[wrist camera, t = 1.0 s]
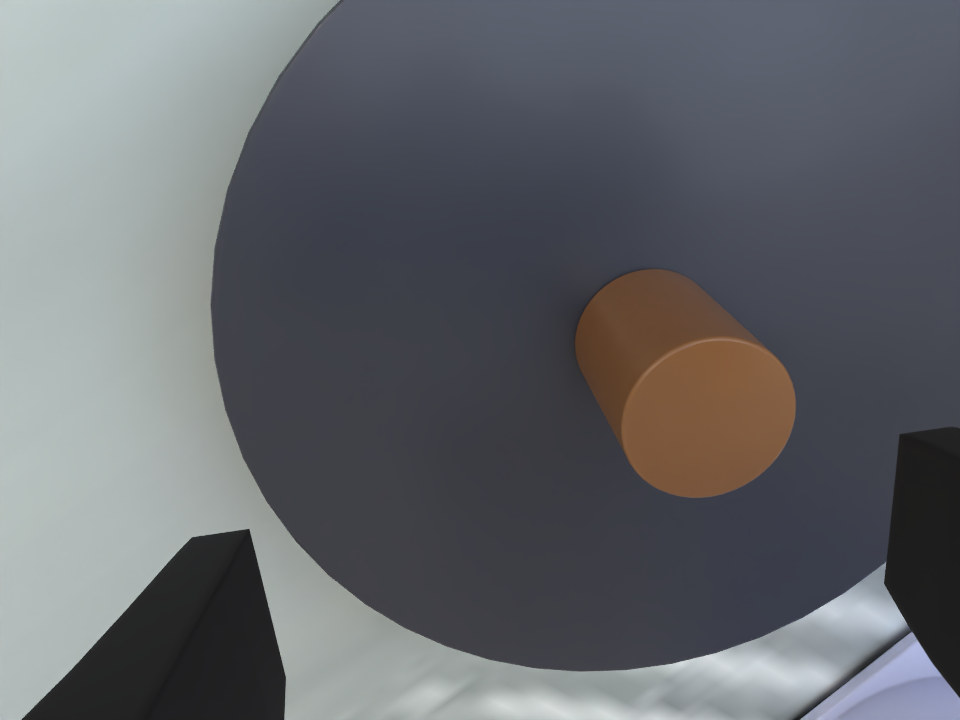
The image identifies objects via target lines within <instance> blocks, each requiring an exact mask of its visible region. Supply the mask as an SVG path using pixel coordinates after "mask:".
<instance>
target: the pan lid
mask: <svg viewBox="0 0 960 720" xmlns="http://www.w3.org/2000/svg"><path fill="white" fill-rule="evenodd" d="M211 317H212V331H213V346H214V359H215V364H216V368H217V373H218V378H219V382H220V387H221V392H222V396H223V401H224V405H225V410H226V413H227V416H228V418H229V421H230V424H231V426H232V429H233V432H234V435H235V437H236V440H237V443H238V445H239V448H240V451H241V453H242V456H243V459H244V460H245V462H246V464H247V466H248V468H249V470H250V472H251V473H252V475H253V477H254V479H255V481H256V483H257V484H258V486H259V488H260V490H261V492H262V494H263V496H264V497H265V499H266V501H267V503H268V504H269V505H270V507H271V508H272V509H273V511H274V512H275V514H276V515H277V516H278V518H279V519H280V520H281V522H282V523H283V524H284V526H285V527H286V529H287V530H288V531H289V533H290V534H291V535H292V537H293V538H294V539H295V541H296V542H297V543H298V544H299V545H300V546H301V547H302V548H303V549H304V550H305V551H306V552H307V553H308V554H309V555H310V556H311V557H312V558H313V559H314V561H315V562H316V563H317V564H318V565H319V566H320V567H321V568H322V569H323V570H324V571H325V572H326V573H327V574H328V575H329V576H330V577H332V578H333V579H334V580H335V581H337V582H338V583H339V584H340V585H342V586H343V587H344V588H346V589H347V590H348V591H349V592H351V593H352V594H353V595H354V596H356V597H357V598H358V599H359V600H361V601H362V602H363V603H364V604H366V605H368V606H369V607H371V608H373V609H374V610H376V611H378V612H379V613H381V614H383V615H384V616H386V617H388V618H389V619H391V620H393V621H394V622H396V623H398V624H399V625H401V626H402V627H404V628H406V629H409V630H411V631H413V632H415V633H418V634H420V635H422V636H424V637H426V638H429V639H431V640H433V641H435V642H438V643H440V644H442V645H444V646H447V647H450V648H453V649H457V650H460V651H463V652H466V653H470V654H473V655H476V656H479V657H483V658H486V659H489V660H494V661H499V662H505V663H510V664H515V665H521V666H526V667H531V668H540V669H553V670H566V671H611V670H629V669H637V668H644V667H651V666H658V665H666V664H672V663H676V662H680V661H685V660H689V659H693V658H697V657H701V656H705V655H709V654H713V653H717V652H720V651H723V650H726V649H728V648H731V647H734V646H737V645H740V644H743V643H745V642H748V641H751V640H754V639H757V638H760V637H762V636H764V635H766V634H768V633H771V632H773V631H775V630H777V629H779V628H781V627H783V626H786V625H788V624H790V623H792V622H794V621H796V620H798V619H800V618H803V617H804V616H806V615H808V614H809V613H811V612H813V611H814V610H816V609H818V608H820V607H821V606H823V605H825V604H826V603H828V602H830V601H831V600H833V599H835V598H836V597H838V596H840V595H841V594H843V593H845V592H846V591H847V590H849V589H850V588H851V587H853V586H854V585H856V584H857V583H858V582H860V581H861V580H862V579H864V578H865V577H866V576H868V575H869V574H870V573H872V572H873V571H875V570H876V569H877V568H879V567H880V566H881V565H883V564H884V563H885V562H886V561H887V551H888V542H889V532H890V522H891V513H892V503H893V493H894V483H895V474H896V464H897V454H898V445H899V435H900V434H904V433H910V432H917V431H924V430H931V429H938V428H945V427H952V426H953V427H957V428H960V0H340V1H339V2H338V3H337V4H336V5H335V6H334V7H333V8H332V9H331V10H330V11H329V12H328V13H327V14H326V15H325V16H324V17H323V18H322V19H321V20H320V21H319V22H318V23H317V25H316V26H315V28H314V29H313V30H312V32H311V33H310V34H309V36H308V37H307V38H306V40H305V41H304V43H303V44H302V45H301V47H300V48H299V49H298V51H297V52H296V53H295V55H294V56H293V58H292V59H291V60H290V62H289V63H288V64H287V66H286V67H285V68H284V70H283V71H282V72H281V74H280V75H279V77H278V79H277V80H276V82H275V84H274V86H273V88H272V90H271V92H270V93H269V95H268V97H267V99H266V101H265V103H264V105H263V106H262V108H261V110H260V112H259V114H258V116H257V117H256V119H255V121H254V123H253V125H252V127H251V129H250V130H249V132H248V135H247V138H246V141H245V143H244V146H243V149H242V151H241V154H240V157H239V159H238V162H237V165H236V168H235V170H234V173H233V176H232V178H231V181H230V184H229V186H228V189H227V193H226V198H225V203H224V207H223V212H222V216H221V221H220V226H219V230H218V235H217V239H216V244H215V251H214V264H213V278H212V292H211Z"/></svg>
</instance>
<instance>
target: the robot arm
mask: <svg viewBox="0 0 960 720" xmlns="http://www.w3.org/2000/svg"><path fill="white" fill-rule="evenodd" d="M884 584H885V586H886V588H887V590H888V591H889V593H890V595H891V596H892V598H893V600H894V602H895V603H896V605H897V607H898V609H899V610H900V612H901V614H902V615H903V617H904V619H905V621H906V622H907V624H908V626H909V627H910V629H911V631H912V632H911V633H909V634H908V635H907V636H905V637H904V638H903V639H902V640H900V641H899V642H898V643H897V644H895V645H894V646H893V647H892V648H890V649H889V650H888V651H886V652H885V653H884V654H883V655H881V656H880V657H879V658H878V659H876V660H875V661H874V662H872V663H871V664H870V665H869V666H867V667H866V668H865V669H864V670H862V671H861V672H860V673H859V674H857V675H856V676H855V677H853V678H852V679H851V680H850V681H848V682H847V683H846V684H845V685H843V686H842V687H841V688H839V689H838V690H837V691H836V692H834V693H833V694H832V695H831V696H829V697H828V698H827V699H826V700H824V701H823V702H822V703H820V704H819V705H818V706H817V707H815V708H814V709H813V710H812V711H810V712H809V713H808V714H806V715H805V716H804V717H803V718H801V719H800V720H960V428H957V427H953V426H952V427H945V428H938V429H931V430H924V431H917V432H910V433H904V434H900V435H899V445H898V454H897V464H896V474H895V483H894V493H893V503H892V513H891V522H890V532H889V542H888V551H887V561H886V571H885V581H884ZM285 686H286V676H285V672H284V668H283V664H282V660H281V656H280V652H279V648H278V644H277V640H276V636H275V631H274V627H273V623H272V619H271V615H270V611H269V607H268V603H267V599H266V595H265V591H264V587H263V583H262V579H261V575H260V570H259V566H258V562H257V558H256V554H255V550H254V546H253V542H252V538H251V534H250V530H249V529H246V530H239V531H232V532H226V533H219V534H212V535H205V536H198V537H192V538H191V539H190V540H189V541H188V542H187V543H186V544H185V545H184V546H183V547H182V548H181V549H180V550H179V551H178V552H177V553H176V555H175V556H174V557H173V558H172V559H171V560H170V561H169V562H168V563H167V565H166V566H165V567H164V568H163V569H162V570H161V571H160V572H159V574H158V575H157V576H156V577H155V578H154V579H153V580H152V582H151V583H150V584H149V585H148V586H147V587H146V588H145V589H144V591H143V592H142V593H141V594H140V595H139V596H138V597H137V599H136V600H135V601H134V602H133V603H132V604H131V605H130V606H129V608H128V609H127V610H126V611H125V612H124V613H123V614H122V615H121V616H120V617H119V619H118V620H117V621H116V622H115V623H114V624H113V625H112V626H111V627H110V628H109V629H108V631H107V632H106V633H105V634H104V635H103V636H102V637H101V638H100V639H99V640H98V641H97V643H96V644H95V645H94V646H93V647H92V648H91V649H90V650H89V651H88V652H87V653H86V655H85V656H84V657H83V658H82V659H81V660H80V661H79V662H78V663H77V664H76V665H75V666H74V668H73V669H72V670H71V671H70V672H69V673H68V674H67V675H66V676H65V677H64V678H63V679H62V680H61V681H60V682H59V683H58V684H57V685H56V686H55V687H54V688H53V689H52V690H51V691H50V692H49V693H48V694H47V695H46V696H45V697H44V698H43V699H42V700H41V701H40V702H39V703H38V704H37V705H36V706H35V707H34V708H33V709H32V710H31V711H30V712H29V713H28V714H27V715H26V716H25V717H24V718H23V719H22V720H284V712H285Z"/></svg>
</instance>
